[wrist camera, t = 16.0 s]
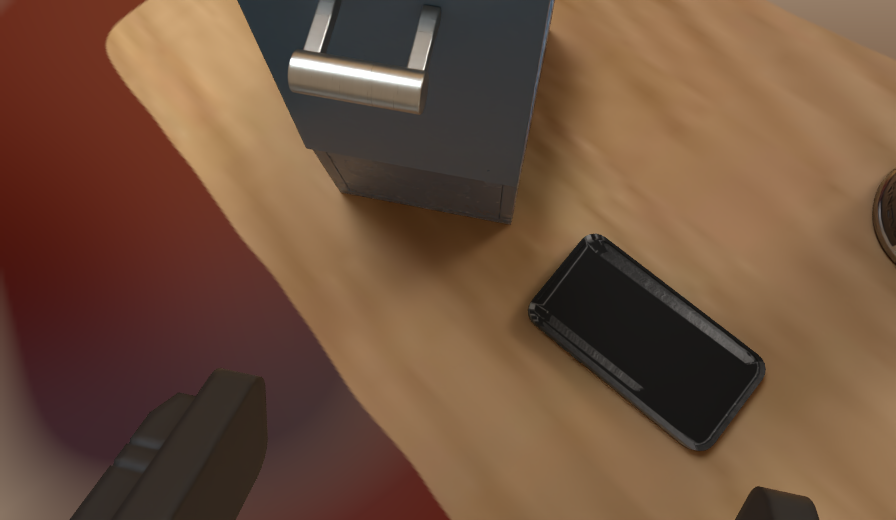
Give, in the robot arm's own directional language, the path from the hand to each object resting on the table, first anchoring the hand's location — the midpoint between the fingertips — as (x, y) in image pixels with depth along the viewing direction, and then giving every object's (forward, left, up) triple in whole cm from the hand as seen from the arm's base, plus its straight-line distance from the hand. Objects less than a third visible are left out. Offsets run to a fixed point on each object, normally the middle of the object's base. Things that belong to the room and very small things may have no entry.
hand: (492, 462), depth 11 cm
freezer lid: (+4, -16, -19) cm, 25 cm away
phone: (-11, -6, -37) cm, 39 cm away
